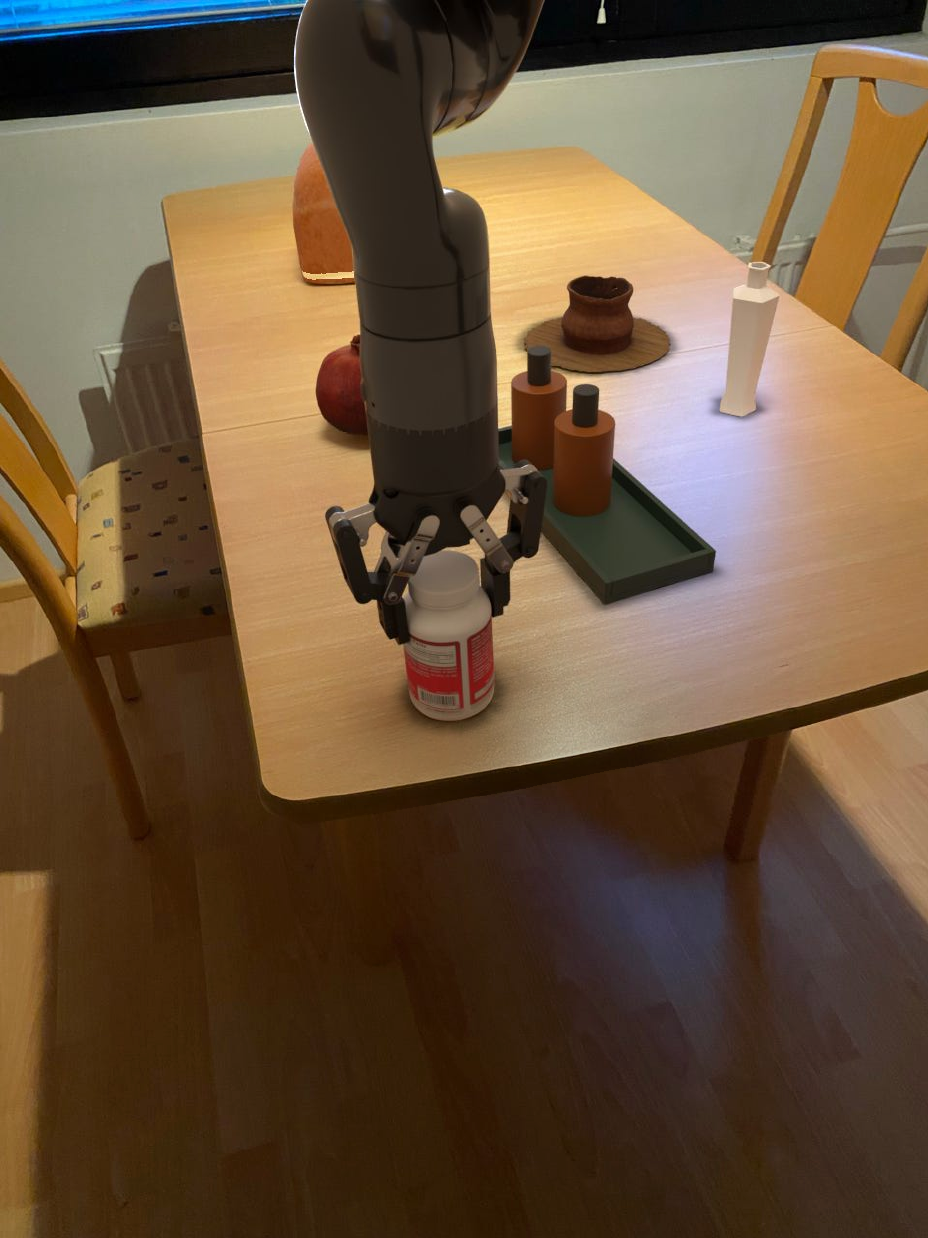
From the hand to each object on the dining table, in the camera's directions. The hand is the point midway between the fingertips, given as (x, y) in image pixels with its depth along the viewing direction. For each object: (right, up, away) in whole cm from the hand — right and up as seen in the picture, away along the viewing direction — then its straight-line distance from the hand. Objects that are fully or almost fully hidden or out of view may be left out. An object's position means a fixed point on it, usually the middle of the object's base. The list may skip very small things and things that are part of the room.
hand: (446, 622), depth 63 cm
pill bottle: (0, -5, +4) cm, 7 cm away
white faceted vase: (+30, +23, +36) cm, 53 cm away
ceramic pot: (+17, +34, +51) cm, 64 cm away
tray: (+12, +11, +23) cm, 28 cm away
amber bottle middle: (+12, +11, +22) cm, 28 cm away
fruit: (-9, +20, +36) cm, 42 cm away
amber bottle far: (+8, +16, +29) cm, 34 cm away
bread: (-17, +56, +80) cm, 100 cm away
